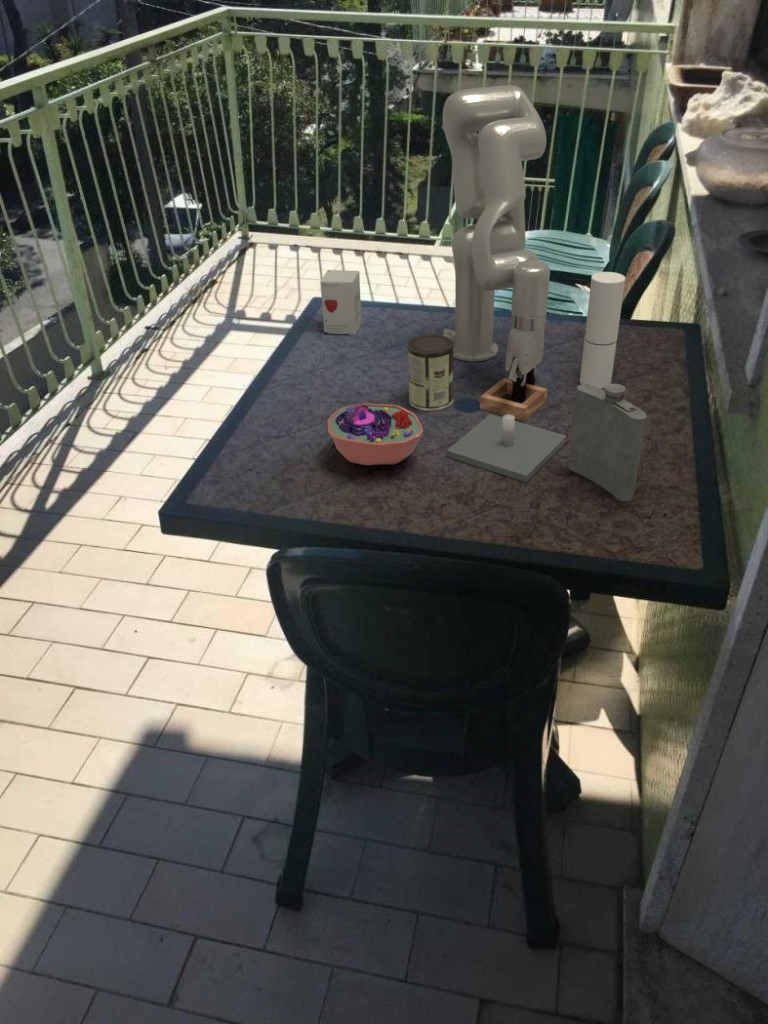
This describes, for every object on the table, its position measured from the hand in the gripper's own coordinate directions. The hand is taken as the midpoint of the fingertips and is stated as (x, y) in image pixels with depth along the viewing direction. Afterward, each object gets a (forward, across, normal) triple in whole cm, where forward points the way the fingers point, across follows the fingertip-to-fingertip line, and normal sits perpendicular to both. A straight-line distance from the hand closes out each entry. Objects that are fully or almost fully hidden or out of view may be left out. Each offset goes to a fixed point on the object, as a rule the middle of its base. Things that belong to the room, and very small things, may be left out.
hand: (523, 395), depth 186 cm
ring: (0, +5, 0) cm, 5 cm away
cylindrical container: (0, -15, +11) cm, 19 cm away
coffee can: (0, +13, -17) cm, 21 cm away
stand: (0, +23, +8) cm, 24 cm away
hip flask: (0, +24, +29) cm, 37 cm away
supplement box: (0, -10, -60) cm, 61 cm away
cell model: (+1, +40, -13) cm, 42 cm away
